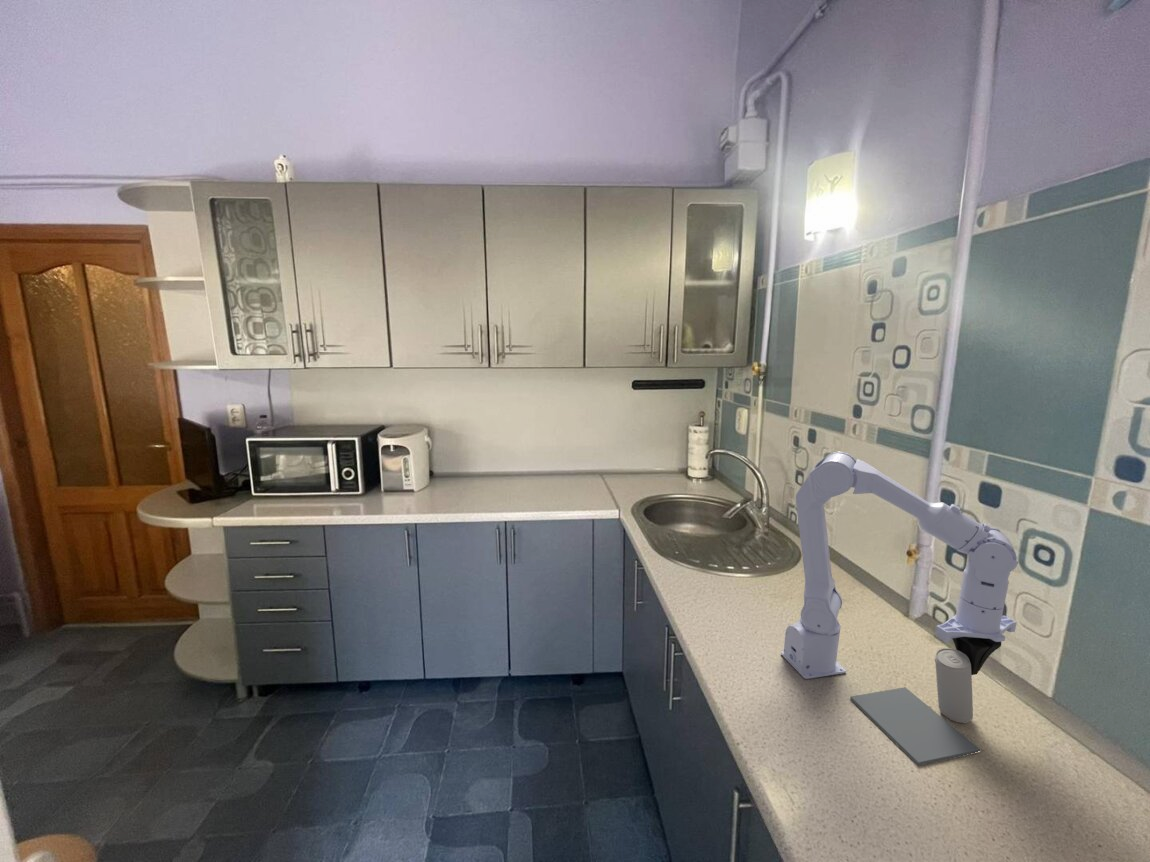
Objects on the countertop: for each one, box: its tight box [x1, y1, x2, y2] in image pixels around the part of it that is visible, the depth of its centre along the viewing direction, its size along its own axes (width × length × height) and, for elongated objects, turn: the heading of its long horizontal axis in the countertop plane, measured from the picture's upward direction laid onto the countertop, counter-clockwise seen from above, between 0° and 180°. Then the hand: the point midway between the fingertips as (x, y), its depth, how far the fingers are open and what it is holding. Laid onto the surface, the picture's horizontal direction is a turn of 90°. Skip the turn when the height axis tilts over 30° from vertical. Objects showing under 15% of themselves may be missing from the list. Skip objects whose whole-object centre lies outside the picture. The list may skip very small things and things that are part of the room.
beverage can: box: [934, 647, 974, 724], centre depth 82 cm, size 5×5×12 cm
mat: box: [850, 686, 982, 766], centre depth 81 cm, size 12×14×1 cm
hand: (968, 670), depth 82 cm, fingers closed
